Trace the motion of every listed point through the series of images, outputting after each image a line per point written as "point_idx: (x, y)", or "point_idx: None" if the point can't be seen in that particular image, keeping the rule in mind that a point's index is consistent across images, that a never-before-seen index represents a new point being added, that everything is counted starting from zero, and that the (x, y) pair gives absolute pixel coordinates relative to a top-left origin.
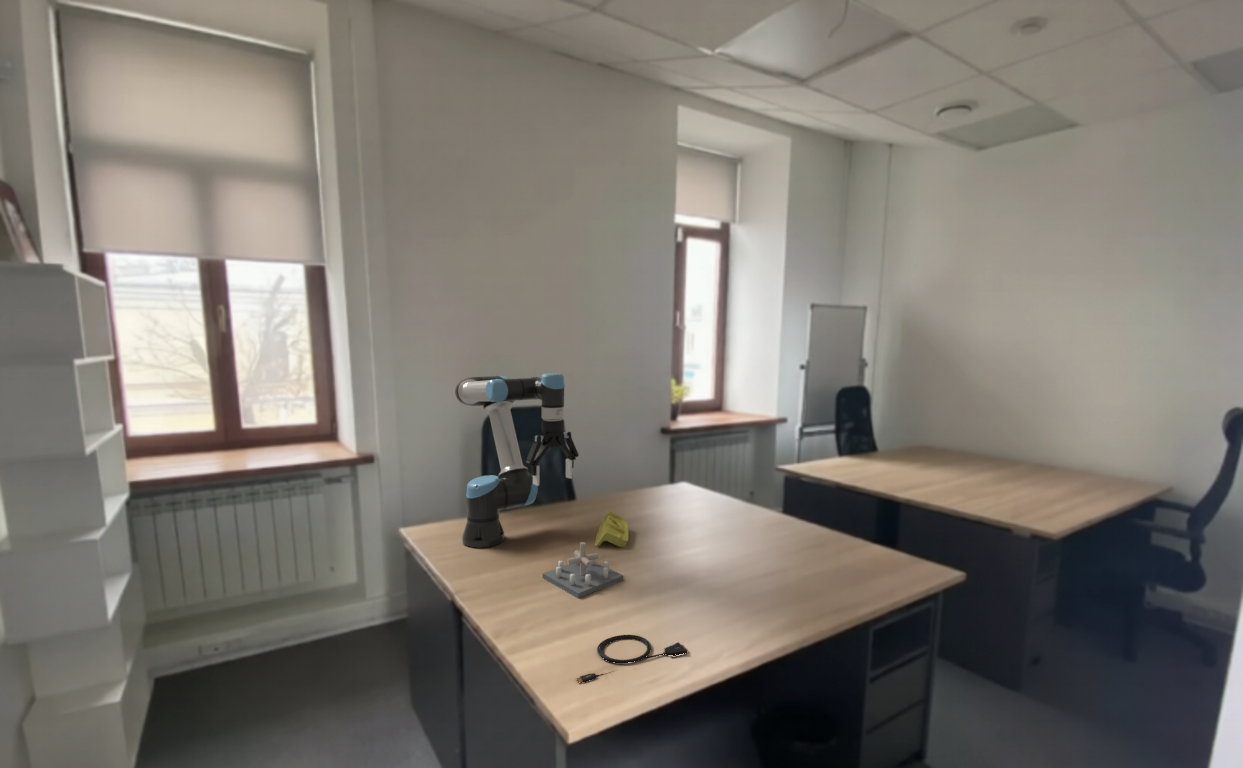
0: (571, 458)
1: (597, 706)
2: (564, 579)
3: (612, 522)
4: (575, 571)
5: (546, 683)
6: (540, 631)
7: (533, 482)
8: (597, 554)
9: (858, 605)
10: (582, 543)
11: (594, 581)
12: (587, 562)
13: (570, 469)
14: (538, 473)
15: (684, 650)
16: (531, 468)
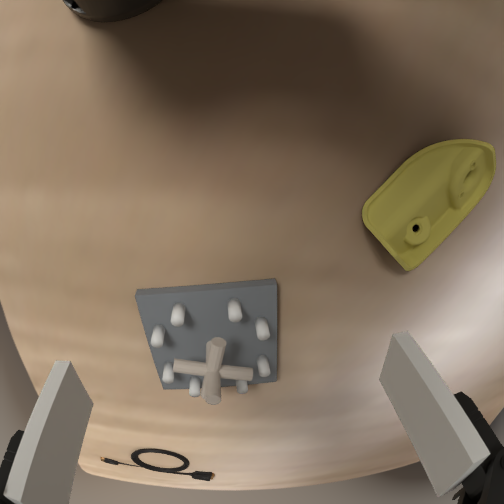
0: (460, 497)
1: (107, 472)
2: (165, 342)
3: (462, 182)
4: (206, 328)
5: None
6: None
7: (54, 375)
8: (249, 380)
9: (392, 466)
10: (211, 400)
11: None
12: (203, 398)
13: (408, 433)
14: (66, 476)
15: (207, 480)
16: (1, 478)
